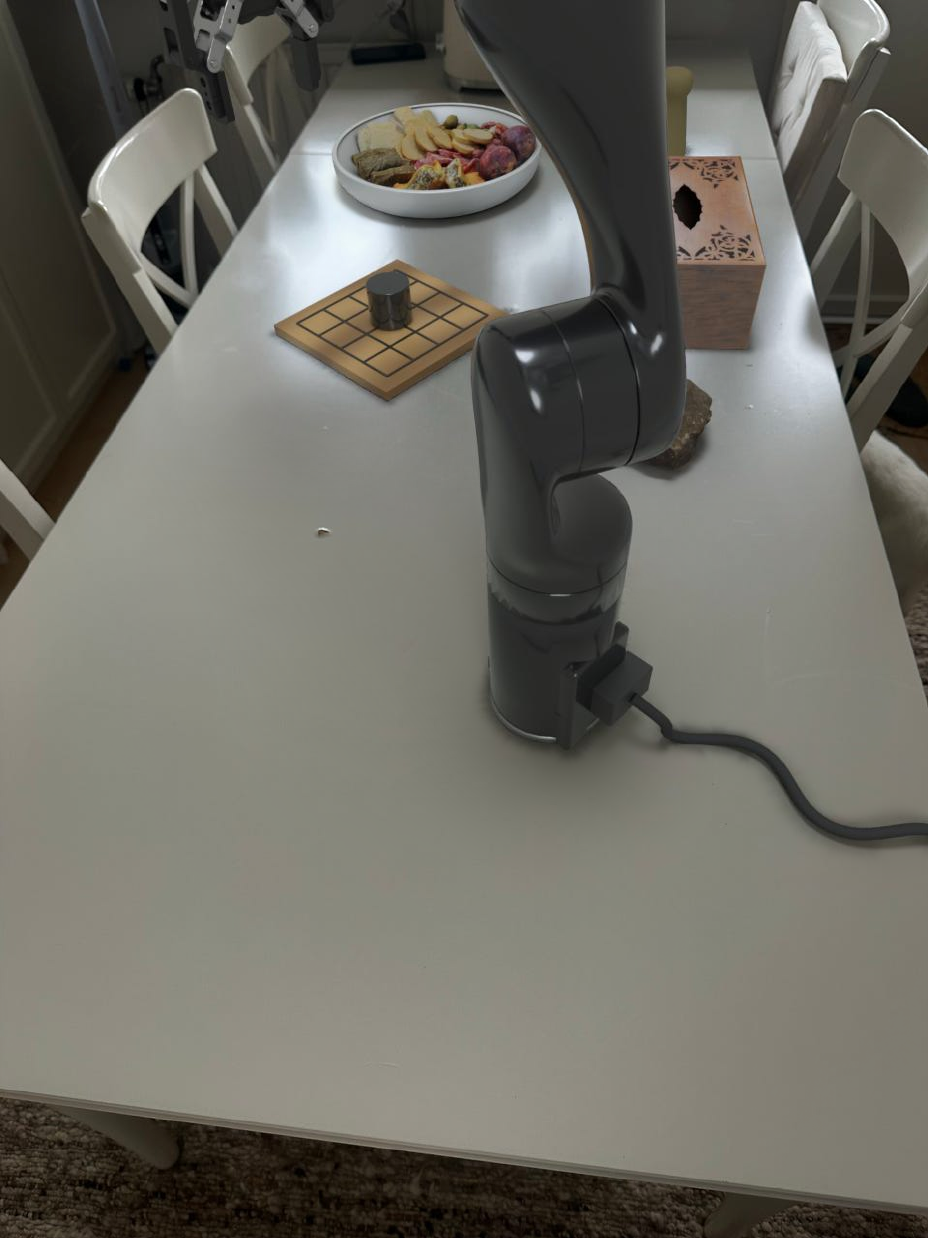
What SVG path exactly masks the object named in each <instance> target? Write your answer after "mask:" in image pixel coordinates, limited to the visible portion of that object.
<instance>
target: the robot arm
mask: <svg viewBox="0 0 928 1238" xmlns="http://www.w3.org/2000/svg"><path fill="white" fill-rule="evenodd" d="M190 1H191V0H153V3H154V7H155V11H156V15H157V20H158V25H159V28H160V34H161V37H162V42H163V46H164V50H165V51H164V52H165V56H166V58H167V60H168V61H169V62H170V63H171V64H173V65H176V66H179V67H181V68H184V69H186V70H189V71H194V72H195V74H196V79H197V83H198V87H199V89H200V93H201V97H202V101H203V105H204V109H205V111H206V112H207V114H208V116H209V115H210V116H212V117H213V119H214V120H215V121H216V122H219V123H220V124H223V125H225V126H226V125H230V124H233V123H235V121H236V116H235V112H234V107H233V102H232V98H231V94H230V89H229V85H228V80H227V77H226V72H225V70H223V69H221V68H222V64H223V60H224V56H225V53H226V49H227V45H228V44H229V43H230V42H232V40H233V38H234V35H235V31H236V28H237V24H238V25H240V26H243V25H246V24H249V23H251V22H252V21H254V20H255V19H257V17H270V16H272V15H275V14H276V15H277V16H278V17H279V18H280V19H281V21H282V22H283V23H284V24H285V26H287V28H288V29H289V30H290V31H291V32H292V34H290V35H288V36H287V37H288V42H289V47H290V53H291V60H292V65H293V70H294V71H293V72H294V78H295V82H296V85H297V86H298V88H299V89H301V90H304V91H306V92H309V93H312V92H315V91H317V90H319V88H320V82H319V81H321V79H322V69H321V65H320V64H321V62H320V56H319V49H318V42H317V35H318V34H319V29H320V28H321V27H322V26H323V25H324V24H325V23H332V21H333V20H334V18H335V6H334V0H198V1H197V6H196V9H195V12H194V16H193V20H191V15H190V10H189V2H190ZM453 4H454V7H455V10H456V12H457V15H458V17H459V19H460V22H461V24H462V26H463V28H464V31H465V32H466V34H467V36H468V39H469V40H470V42H471V44H472V46H473V47H474V49H475V51H476V53H477V54H478V56H479V58H480V59H481V61H482V62H483V64H484V65H485V67H486V68H487V70H488V71H489V73H490V74H491V76H492V77H493V79H494V80H495V82H496V84H497V86H499V88H500V90H501V91H502V92H503V94H505V97H506V98H507V100H509V102H510V104H511V105H512V107H514V109H515V110H516V112H517V113H518V116H520V117H522V119H523V120H524V121H525V123H526V124H527V126H528V127H529V128H530V130H531V131H532V132H533V134H534V135H535V137H536V138H537V139H538V141H539V142H540V144H541V148H543V150H544V152H545V153H546V155H547V156H548V157H549V159H550V161H551V162H552V164H553V165H554V167H555V169H556V171H557V172H558V174H559V176H560V178H561V180H562V182H563V183H564V186H565V188H566V190H567V191H568V193H569V196H570V198H571V201H572V203H573V205H574V208H575V211H576V214H577V217H578V218H577V219H578V221H579V224H580V229H581V233H582V236H583V239H584V240H583V241H584V245H585V250H586V256H587V262H588V271H589V287H590V289H589V295H588V296H584V297H580V298H576V299H572V300H567V301H564V302H559V303H554V304H550V305H545V306H542V307H541V306H540V307H537V308H533V309H529V310H524V311H519V312H514V313H509V314H510V315H507V316H503V317H499V318H496V319H494V320H491V321H489V322H488V323H486V324H485V325H484V326H483V327H482V328H481V329H480V331H479V332H478V334H477V336H476V339H475V342H474V345H473V348H472V349H471V355H470V389H471V390H470V391H471V402H472V409H473V419H474V420H473V421H474V429H475V435H476V436H475V437H476V444H477V454H478V455H477V456H478V469H479V487H480V496H481V497H480V498H481V505H482V512H483V513H482V514H483V520H484V521H483V522H484V529H485V555H486V556H485V557H486V558H485V559H486V593H487V622H488V623H487V624H488V625H487V626H488V650H489V651H488V652H489V654H488V656H487V667H488V669H489V676H490V678H489V685H488V686H489V688H488V689H489V700H490V701H489V702H490V704H491V707H492V709H493V712H494V714H495V715H496V717H497V718H498V720H499V721H500V722H501V723H502V724H503V726H505V727H506V728H507V729H508V730H510V731H511V732H512V733H514V734H516V735H517V736H519V737H522V738H524V739H526V740H530V741H534V742H537V743H546V744H556V745H558V746H560V747H562V749H564V750H566V751H569V750H571V749H572V748H573V747H574V746H575V745H576V744H577V743H578V742H579V741H580V740H581V739H582V738H583V737H584V736H585V735H586V734H588V732H590V731H591V730H592V729H593V728H595V727H596V726H597V724H598V723H600V721H601V722H603V723H604V724H606V725H607V726H609V727H612V726H614V725H615V724H616V723H617V722H618V721H619V720H620V719H621V718H622V717H623V716H624V715H625V714H626V713H627V712H628V711H629V710H630V709H631V708H632V707H635V709H637V710H638V711H640V712H641V713H642V714H644V715H645V716H646V717H647V718H649V719H650V720H652V721H653V722H654V723H655V724H656V725H657V726H659V727H660V733H661V735H662V737H663V738H664V739H667V740H670V741H672V742H676V743H679V744H684V745H685V744H686V745H709V746H728V747H734V748H739V749H743V750H746V751H748V752H751V753H753V754H755V755H756V756H757V757H759V758H761V759H762V760H763V761H765V763H767V764H768V765H769V766H770V767H771V769H773V772H775V774H776V775H777V776H778V778H779V780H780V781H781V783H782V785H783V786H784V788H785V790H786V791H787V794H788V795H789V796H790V798H791V799H792V801H793V803H794V804H795V806H796V807H797V808H798V810H799V811H800V812H801V813H802V814H803V815H804V817H806V818H807V820H808V821H810V822H811V823H812V824H814V825H815V826H816V827H818V828H819V829H821V830H822V831H824V832H826V833H827V834H831V835H833V836H835V837H837V838H842V839H847V840H850V841H883V840H889V839H897V838H904V837H913V836H923V837H925V836H926V837H928V823H927V822H904V823H897V824H890V825H889V824H888V825H882V826H874V827H873V826H872V827H857V826H848V825H844V824H841V823H838V822H836V821H833V820H832V819H830V818H828V817H827V816H824V815H823V814H822V813H820V811H818V810H817V809H816V808H815V807H814V806H813V805H812V804H811V803H810V801H809V800H808V798H807V797H806V795H805V794H804V793H803V791H802V790H801V788H800V786H799V784H798V783H797V782H796V780H795V778H794V776H793V775H792V773H791V771H790V770H789V768H788V767H787V766H786V765H785V763H784V762H783V761H782V760H781V758H780V757H779V756H778V755H777V754H775V753H774V752H773V751H772V750H771V749H770V748H768V747H766V746H765V745H763V744H761V743H760V742H758V741H756V740H753V739H751V738H748V737H745V736H741V735H736V734H727V733H696V732H695V733H694V732H684V731H679V730H676V729H673V728H674V727H673V723H672V722H671V719H670V718H668V716H666V715H665V714H664V713H663V712H662V711H660V709H658V708H657V707H656V706H654V705H653V704H651V703H650V702H649V701H647V700H646V699H645V698H644V697H643V696H644V695H645V693H647V692H648V691H649V688H650V683H651V680H652V679H651V678H652V674H653V670H654V667H653V666H652V665H651V664H650V663H648V662H647V661H645V660H643V659H642V658H641V657H639V656H638V655H636V654H635V653H633V652H632V651H630V650H627V649H628V641H629V635H630V628H629V626H627V625H626V624H625V623H623V622H621V621H620V614H621V608H622V601H623V595H624V587H625V584H626V583H625V582H626V577H627V576H626V575H627V569H628V562H629V555H630V550H631V544H632V538H633V526H634V524H633V522H634V521H633V514H632V510H631V506H630V505H629V502H628V500H627V499H626V497H625V495H624V494H623V493H622V492H621V490H620V489H619V488H618V487H617V486H616V485H615V484H614V483H612V482H611V481H610V480H609V479H607V478H605V477H604V476H602V475H600V474H602V473H606V472H608V471H609V472H610V471H613V470H616V469H620V468H623V467H627V466H630V465H633V464H636V463H640V462H644V461H643V460H647V459H650V458H652V457H655V456H657V455H659V454H661V453H663V452H664V451H666V450H667V449H668V448H669V447H670V446H671V445H672V444H673V442H674V440H675V438H676V437H677V435H678V433H679V430H680V428H681V424H682V420H683V415H684V409H685V401H686V380H687V379H688V377H687V353H686V348H685V339H684V326H683V314H682V303H681V293H680V282H679V272H678V261H677V250H676V240H675V229H674V219H673V208H672V197H671V186H670V172H669V155H668V130H667V102H666V68H667V59H666V57H667V55H666V53H667V52H666V51H667V50H666V0H453ZM215 14H216V15H217V16H218V18H217V19H216V20H215V21H214V17H215ZM192 21H193V23H192ZM192 24H193V25H192ZM193 27H194V29H193Z"/></svg>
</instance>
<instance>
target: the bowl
mask: <svg viewBox="0 0 928 1238" xmlns="http://www.w3.org/2000/svg"><path fill="white" fill-rule="evenodd" d="M541 156H542V145H541V144H540V142H539V141H538V139H537V138H536V137H535V135H534V134H533V132H532V131H531V130H530V128H529V127H528V126H527V124H526V123H525V121H524V120H523V119H522V117H521V116H520V115H519V114H516V113H514V112H511V111H509V110H505V109H502V108H498V107H494V106H489V105H484V104H479V103H478V104H477V103H468V102H433V103H431V102H430V103H422V104H421V103H419V104H414V105H404V106H402V107H396V108H392V109H389V110H385V111H382V112H379V113H377V114H374V115H371V116H369V117H366V118H364V119H362V120H360V121H358V122H356V123H355V124H354V123H353V125H351V126H350V127H348V128H347V129H345V131H343V133H341V134H340V135H339V136H338V137H337V139H336V140H335V142H334V144H333V146H332V149H331V159H332V165H333V169H334V172H335V175H336V178H337V179H338V181H339V183H340V185H342V187H343V188H344V189H345V190H346V192H347V193H348V194H349V195H350V196H351V197H353V198H354V199H355V200H356V201H358V202H360V204H363V205H365V206H367V207H369V208H371V209H374V210H376V211H378V212H382V213H385V214H388V215H392V216H398V217H404V218H413V219H445V218H455V217H460V216H466V215H471V214H475V213H479V212H482V211H485V210H488V209H491V208H493V207H496V206H498V205H501V204H503V203H504V202H506V201H508V200H510V199H511V198H513V197H514V196H515V195H517V194H518V193H519V192H520V191H522V190H523V189H524V188H525V187H526V186H527V185H528V184H529V182H530V181H531V180H532V179H533V177H534V175H535V173H536V172H537V169H538V167H539V164H540V161H541Z"/></svg>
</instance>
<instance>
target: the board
mask: <svg viewBox="0 0 928 1238" xmlns="http://www.w3.org/2000/svg"><path fill="white" fill-rule="evenodd" d="M382 272H398V273H401V274H404V275H405V276H407V278H408V279H409V283H410V293H411V304H412V314H413V318H412V321H411V322H410V323H409V324H408V325H407V326H405V327H403V328H400V329H395V330H383V329H379V328H377V327H375V326H374V325H373V324H372V323H371V320H370V313H369V306H368V299H367V292H366V282H367V280H368V279H369V278H370V277H372V276H373V275H376V274H378V273H382ZM510 314H511V313H509V312H507V311H505V310H502V309H501V308H499V307H496V306H495V305H493V304H490V303H488V302H486V301H484V300H482V299H480V298H478V297H476V296H474V295H472V294H470V293H468V292H466V291H464V290H462V289H460V288H457V287H455V286H454V285H451V284H449V283H447V282H445V281H443V280H441V279H439V278H437V277H436V276H433V275H431V274H429V273H427V272H424V271H423V270H421V269H419V268H417V267H414V266H412V265H410V264H408V263H406V262H404V261H403V260H400V259H398V258H396V259H395V260H393V261H391V262H389V263H387V264H385V265H383V266H381V267H379V268H377V269H376V270H374V271H372V272H370V273H368V274H366V275H365V276H363V277H360V278H359V279H357V280H355V281H354V282H351V283H350V284H348V285H346V286H344V287H342V288H340V289H338V290H337V291H334V292H332V293H331V294H329V295H327V296H325V297H323V298H321V299H320V300H317V301H315V302H314V303H312V304H310V305H308V306H307V307H304V308H303V309H300V310H299V311H297V312H295V313H294V314H291V315H289V316H288V317H286V318H283V319H282V320H280V321H278V322H276V323H274V324H273V328H274V332H275V333H274V334H275V335H277V336H279V337H280V338H282V339H284V340H285V341H287V342H289V343H291V344H292V345H294V346H295V347H297V348H299V349H300V350H302V351H304V352H305V353H306V354H309V355H310V356H312V357H313V358H315V359H316V360H318V361H320V362H322V363H323V364H325V365H327V366H328V367H330V368H332V369H333V370H335V371H337V372H338V373H340V374H341V375H343V376H345V377H347V378H349V379H350V380H351V381H353V382H355V383H356V384H358V385H360V386H361V387H363V388H365V389H366V390H368V391H370V392H371V393H373V394H375V395H376V396H378V397H380V398H381V399H382V400H384V401H386V402H389V401H390V400H392V399H393V398H395V397H397V396H398V395H400V394H401V393H403V392H405V391H406V390H408V389H409V388H411V387H412V386H414V385H417V383H419V382H420V381H422V380H424V379H425V378H427V377H429V376H430V375H432V374H434V373H436V372H437V371H438V370H440V369H442V368H443V367H445V366H446V365H448V364H449V363H451V362H452V361H454V360H456V359H458V358H459V357H460V356H463V355H464V354H466V353H468V352H469V351H470V350H472V349H473V345H474V342H475V339H476V336H477V334H478V332H479V331H480V329H481V328H482V327H483V326H484V325H485V324H486V323H488V322H489V321H491V320H494V319H496V318H499V317H503V316H507V315H510Z"/></svg>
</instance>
